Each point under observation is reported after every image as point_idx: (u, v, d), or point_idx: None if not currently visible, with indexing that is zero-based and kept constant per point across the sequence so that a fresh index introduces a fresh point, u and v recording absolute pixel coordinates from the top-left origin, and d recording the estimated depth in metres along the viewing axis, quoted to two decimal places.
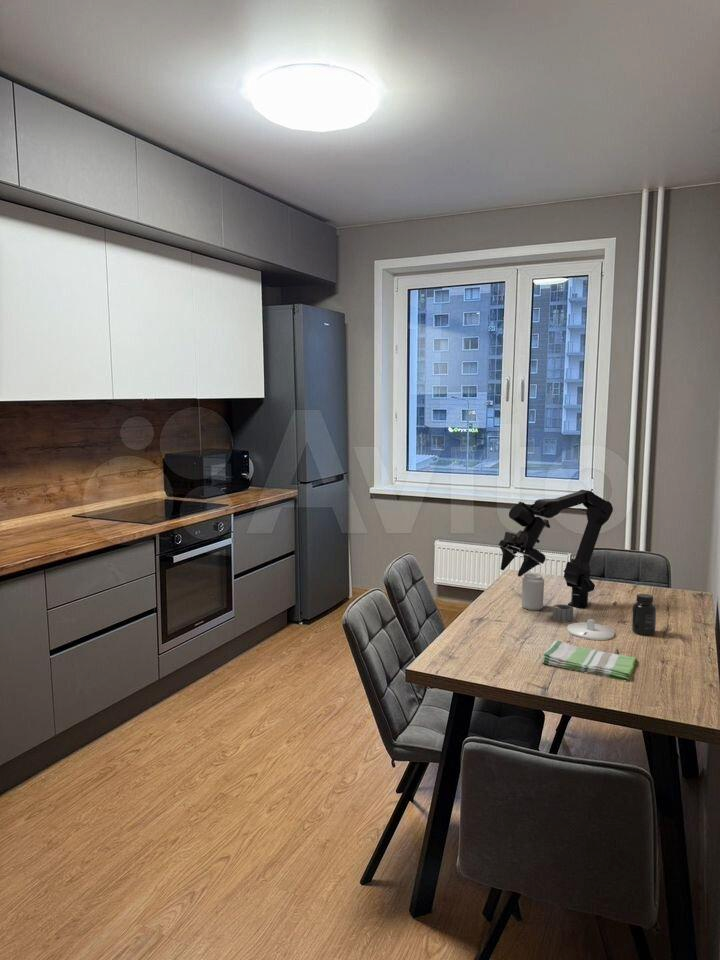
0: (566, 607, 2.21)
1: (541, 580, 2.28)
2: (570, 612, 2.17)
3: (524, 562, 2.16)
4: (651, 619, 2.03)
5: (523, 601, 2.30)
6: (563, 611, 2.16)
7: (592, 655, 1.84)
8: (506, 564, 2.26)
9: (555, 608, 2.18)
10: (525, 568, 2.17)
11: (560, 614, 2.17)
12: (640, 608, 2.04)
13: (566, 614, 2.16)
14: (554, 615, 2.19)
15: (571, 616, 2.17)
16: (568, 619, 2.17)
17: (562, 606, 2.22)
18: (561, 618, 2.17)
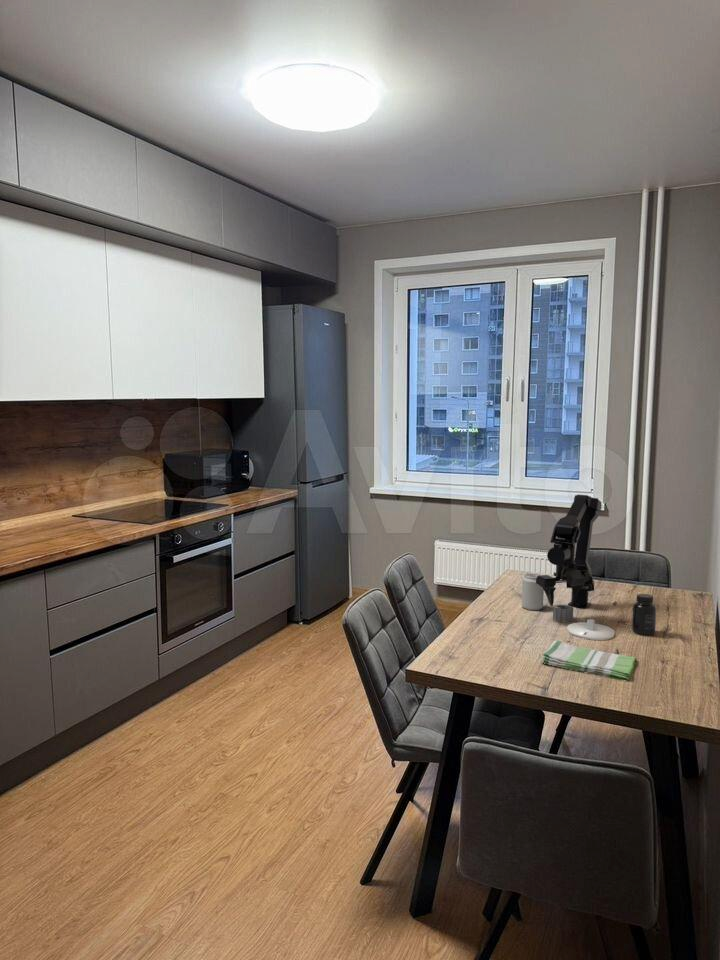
0: (566, 607, 2.21)
1: None
2: (570, 612, 2.17)
3: (580, 590, 2.19)
4: (651, 619, 2.03)
5: (523, 601, 2.30)
6: (563, 611, 2.16)
7: (591, 655, 1.84)
8: None
9: (555, 608, 2.18)
10: None
11: (560, 614, 2.17)
12: (640, 608, 2.04)
13: (566, 614, 2.16)
14: (554, 615, 2.19)
15: (571, 616, 2.17)
16: (568, 619, 2.17)
17: (562, 606, 2.22)
18: (561, 618, 2.17)
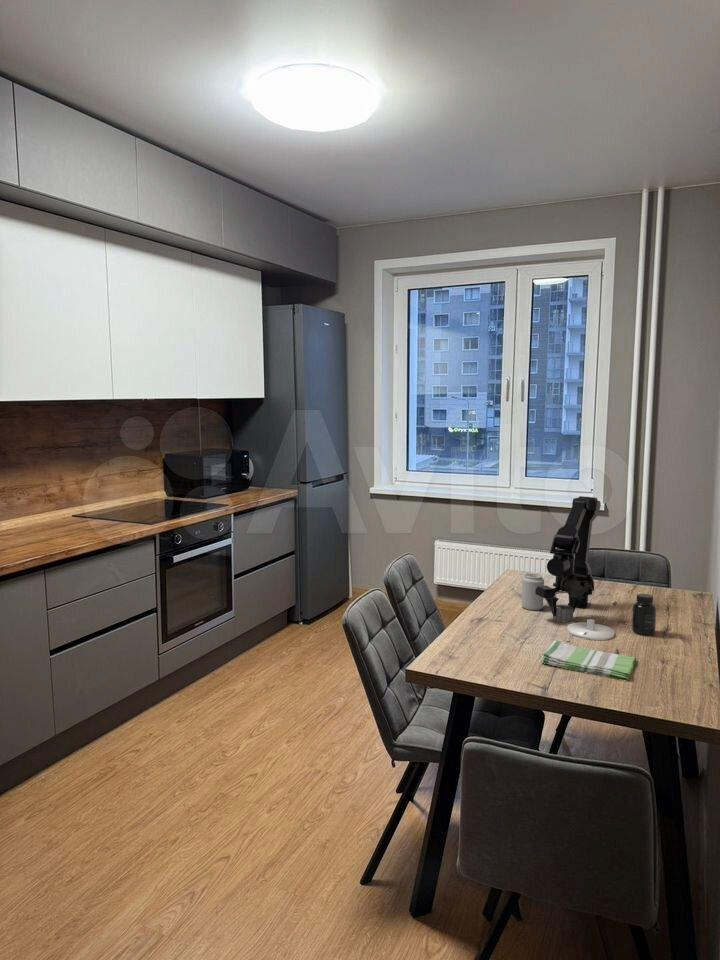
0: (566, 607, 2.21)
1: (541, 580, 2.28)
2: (570, 612, 2.17)
3: (577, 601, 2.19)
4: (651, 619, 2.03)
5: (523, 601, 2.30)
6: (563, 611, 2.16)
7: (591, 655, 1.84)
8: None
9: None
10: None
11: (560, 614, 2.17)
12: (640, 608, 2.04)
13: (566, 614, 2.16)
14: None
15: (571, 616, 2.17)
16: (568, 619, 2.17)
17: (562, 606, 2.22)
18: (561, 618, 2.17)
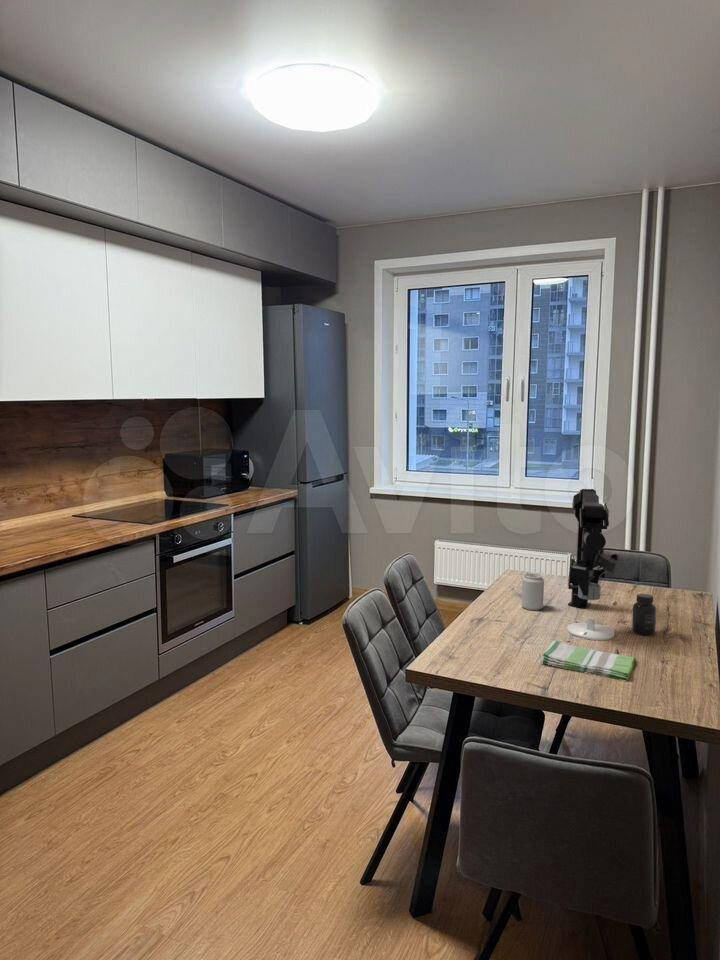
0: None
1: (541, 580, 2.28)
2: (600, 589, 2.04)
3: (599, 577, 2.08)
4: (651, 619, 2.03)
5: (523, 601, 2.30)
6: (595, 589, 2.03)
7: (590, 655, 1.84)
8: None
9: None
10: None
11: (593, 592, 2.03)
12: (640, 608, 2.04)
13: (598, 591, 2.03)
14: None
15: None
16: (599, 596, 2.04)
17: None
18: (593, 597, 2.03)
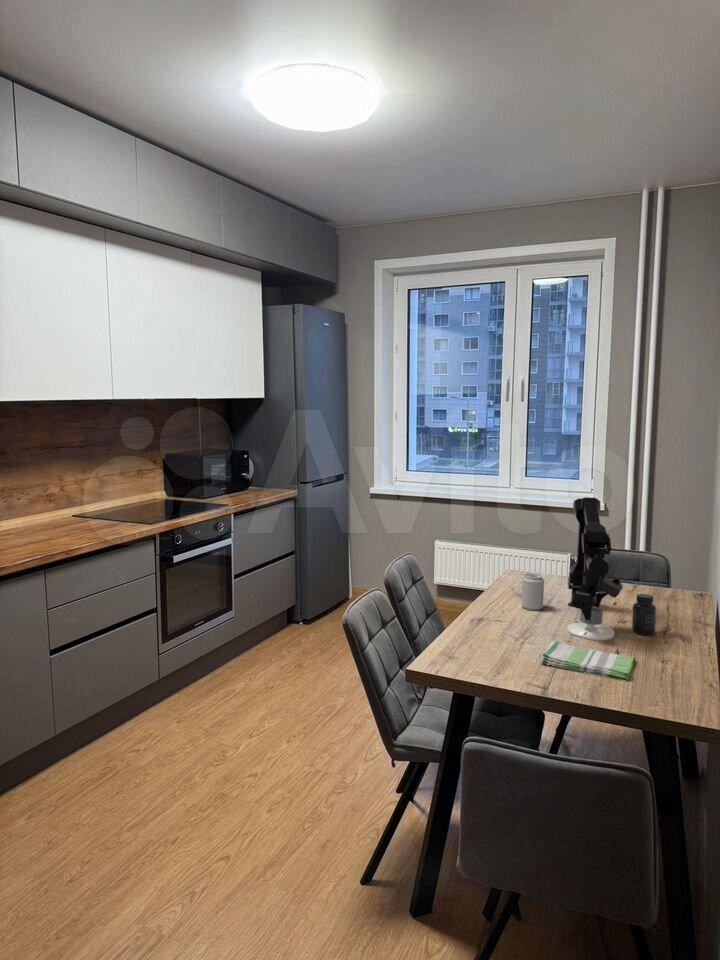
0: None
1: (541, 580, 2.28)
2: (602, 613, 2.04)
3: (600, 600, 2.08)
4: (651, 619, 2.03)
5: (523, 601, 2.30)
6: (598, 613, 2.03)
7: (590, 655, 1.84)
8: None
9: None
10: None
11: (596, 617, 2.03)
12: (640, 608, 2.04)
13: (600, 616, 2.03)
14: None
15: None
16: (601, 621, 2.04)
17: None
18: (596, 621, 2.03)
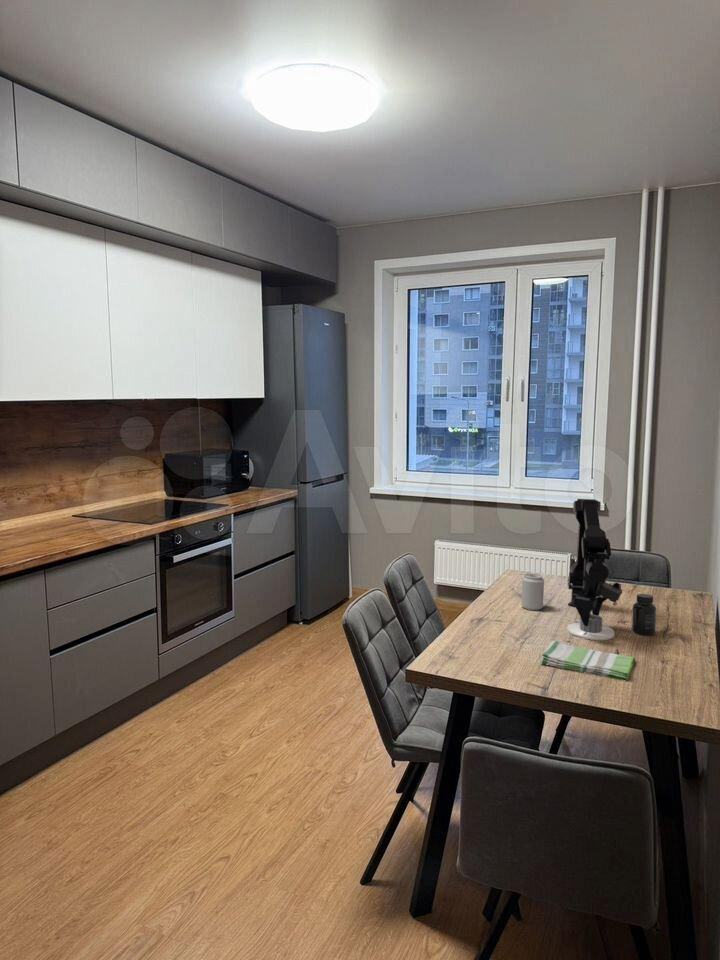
0: (590, 616, 2.08)
1: (541, 580, 2.28)
2: (601, 621, 2.05)
3: None
4: (651, 619, 2.03)
5: (523, 601, 2.30)
6: (598, 621, 2.03)
7: (590, 655, 1.84)
8: None
9: None
10: None
11: (595, 625, 2.03)
12: (640, 608, 2.04)
13: (600, 624, 2.03)
14: (587, 627, 2.04)
15: (601, 625, 2.05)
16: (601, 629, 2.04)
17: None
18: (595, 630, 2.03)
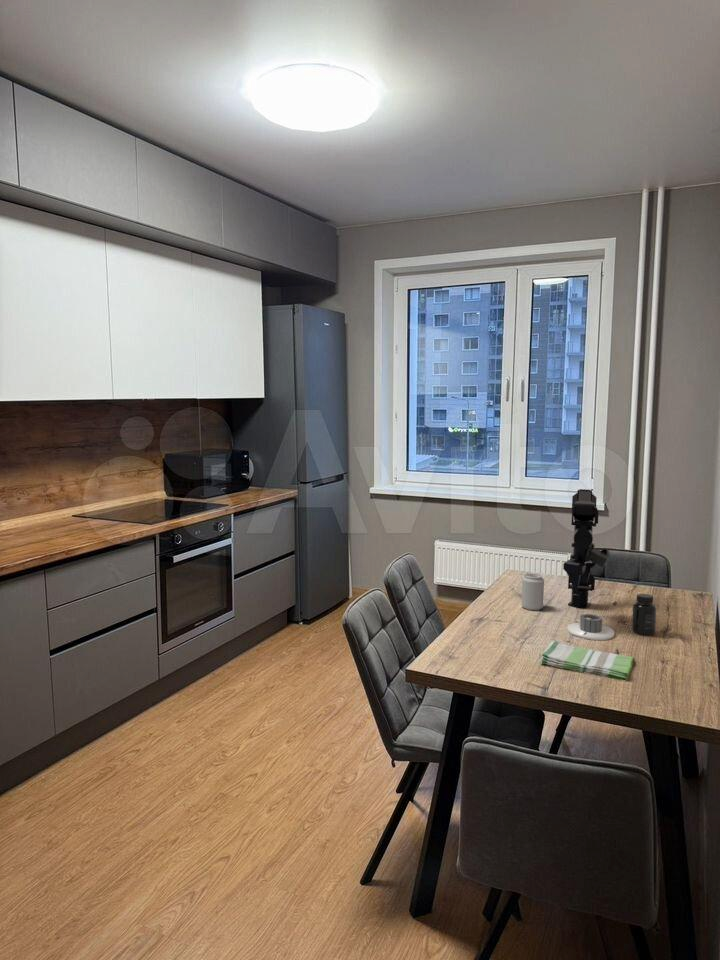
0: (590, 616, 2.08)
1: (541, 580, 2.28)
2: (601, 621, 2.05)
3: (591, 569, 2.21)
4: (651, 619, 2.03)
5: (523, 601, 2.30)
6: (598, 621, 2.03)
7: (589, 655, 1.84)
8: None
9: (588, 620, 2.03)
10: None
11: (595, 625, 2.03)
12: (640, 608, 2.04)
13: (600, 624, 2.03)
14: (587, 627, 2.04)
15: (601, 625, 2.05)
16: (601, 629, 2.04)
17: (586, 616, 2.08)
18: (595, 630, 2.03)
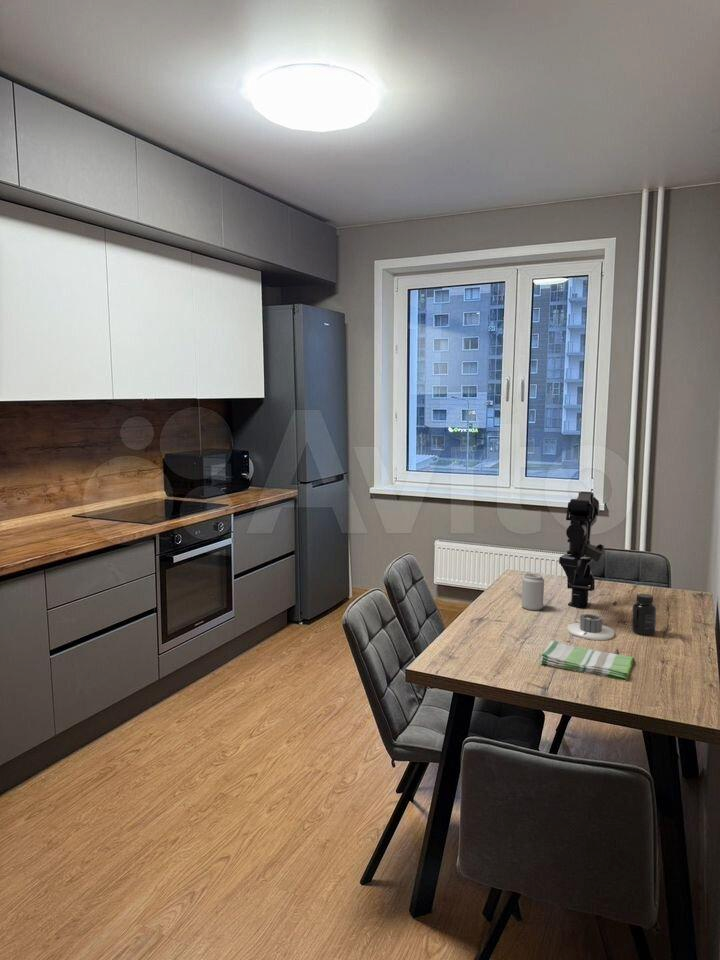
0: (590, 616, 2.08)
1: (541, 580, 2.28)
2: (601, 621, 2.05)
3: (586, 565, 2.25)
4: (651, 619, 2.03)
5: (523, 601, 2.30)
6: (598, 621, 2.03)
7: (589, 655, 1.84)
8: None
9: (588, 620, 2.03)
10: None
11: (595, 625, 2.03)
12: (640, 608, 2.04)
13: (600, 624, 2.03)
14: (587, 627, 2.04)
15: (601, 625, 2.05)
16: (601, 629, 2.04)
17: (586, 616, 2.08)
18: (595, 630, 2.03)
